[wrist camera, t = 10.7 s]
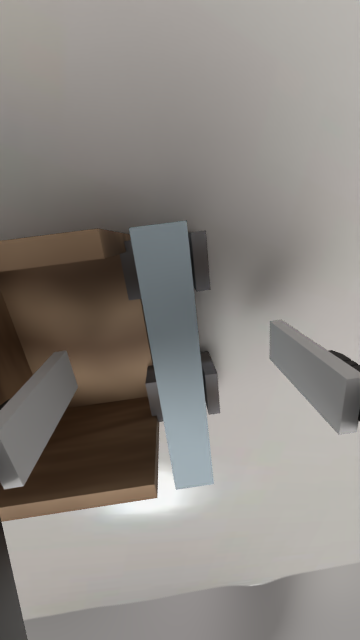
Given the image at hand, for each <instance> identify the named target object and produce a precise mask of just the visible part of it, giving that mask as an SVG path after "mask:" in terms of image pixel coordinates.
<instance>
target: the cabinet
mask: <svg viewBox="0 0 360 640" xmlns="http://www.w3.org/2000/svg"><path fill="white" fill-rule="evenodd" d="M188 238H189V248H190V258H191V267H192V277H193V287H194V288H195V290H196V291H204V290H210V278H209V265H208V253H207V240H206V231H199V232H191V233H188ZM59 351H67V354H68V357H69V360H70V363H71V366H72V369H73V373H74V376H75V379H76V382H77V385H78V388H77V390H76V392H75V394H74V396H73V397H72V399H71V401H70V403H69V405H68V406H67V408H66V410H65V412H64V414H63V416H62V417H61V419H60V421H59V423H58V425H57V426H56V428H55V430H54V432H53V434H52V436H51V437H50V439H49V441H48V443H47V445H46V446H45V448H44V450H43V452H42V454H41V456H40V457H39V459H38V461H37V463H36V465H35V466H34V468H33V470H32V472H31V474H30V475H29V477H28V479H27V481H26V483H25V485H24V486H22V487H16V488H10V489H4V488H3V486H2V484H1V483H0V518H1V522H2V521H9V520H15V519H22V518H29V517H35V516H42V515H48V514H55V513H61V512H68V511H74V510H81V509H87V508H94V507H100V506H107V505H114V504H120V503H127V502H133V501H140V500H146V499H153V498H157V490H158V451H159V422H162V421H163V415H162V409H161V404H160V398H159V393H158V387H157V382H156V376H155V371H154V365H153V359H152V354H151V348H150V343H149V337H148V332H147V326H146V320H145V315H144V309H143V304H142V298H141V293H140V287H139V281H138V276H137V270H136V265H135V259H134V254H133V248H132V243H131V237H130V234H125V233H120V232H114V231H109V230H104V229H98V228H97V229H89V230H81V231H73V232H65V233H58V234H50V235H42V236H34V237H26V238H18V239H10V240H2V241H0V405H1V404H3V403H4V402H5V401H7V400H8V399H11V398H12V397H13V396H14V395H15V394H16V393H17V392H18V391H19V390H20V388H21V387H22V386H23V385H24V384H25V383H26V382H27V381H28V380H29V379H30V378H31V377H32V376H33V374H34V373H35V372H36V371H37V370H38V369H39V368H40V367H41V366H42V365H43V364H44V363H45V362H46V361H47V359H48V358H49V357H50V356H51V355H52V354H53V353H54V352H59ZM200 355H201V364H202V374H203V384H204V394H205V402H206V405H207V409H208V413H209V415H210V414H217V413H220V404H219V392H218V379H217V372H216V370H215V367H214V365H213V362H212V360H211V357H210V355H209V352H202V353H200Z"/></svg>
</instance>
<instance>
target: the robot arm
mask: <svg viewBox="0 0 360 640" xmlns="http://www.w3.org/2000/svg"><path fill="white" fill-rule="evenodd" d="M270 360H271V361H272V362H273V363H274V364H275V365H276V366H277V367H278V368H279V370H280V371H281V372H282V373H283V374H284V375H285V376H286V377H287V378H288V379H289V380H290V382H291V383H292V384H293V385H294V386H295V387H296V388H297V389H298V390H299V391H300V393H301V394H302V395H303V396H304V397H305V398H306V399H307V400H308V401H309V402H310V404H311V405H312V406H313V407H314V408H315V409H316V410H317V411H318V412H319V413H320V415H321V416H322V417H323V418H324V419H325V420H326V421H327V422H328V423H329V424H330V425H331V427H332V428H333V429H334V430H335V431H336V432H337V433H338V434H339V435H342V434H348V433H354V432H357V427H358V421H360V365H358V364H357V363H356V362H354V361H351V359H349V358H348V357H346V356H345V355H343V354H341V353H338V352H335V351H332V350H330V351H327V350H326V349H325V348H323V347H322V346H320V345H319V344H317V343H316V342H314V341H313V340H311V339H310V338H308V337H307V336H305V335H304V334H302V333H301V332H299V331H298V330H296V329H295V328H293V327H292V326H290V325H289V324H287V323H286V322H284V321H283V320H276V321H270ZM77 388H78V385H77V382H76V379H75V376H74V373H73V369H72V366H71V363H70V360H69V357H68V354H67V351H59V352H54V353H53V354H52V355H51V356H50V357H49V358H48V359H47V361H46V362H45V363H44V364H43V365H42V366H41V367H40V368H39V369H38V370H37V371H36V372H35V373H34V374H33V376H32V377H31V378H30V379H29V380H28V381H27V382H26V383H25V384H24V385H23V386H22V387H21V388H20V390H19V391H18V392H17V393H16V394H15V395H14V396H13V397H12V398H11V399H8V400H7V401H5V402H4V403H3V404H1V405H0V483H1V484H2V486H3V488H4V489H10V488H16V487H22V486H24V485H25V483H26V481H27V479H28V477H29V475H30V474H31V472H32V470H33V468H34V466H35V465H36V463H37V461H38V459H39V457H40V456H41V454H42V452H43V450H44V448H45V446H46V445H47V443H48V441H49V439H50V437H51V436H52V434H53V432H54V430H55V428H56V426H57V425H58V423H59V421H60V419H61V417H62V416H63V414H64V412H65V410H66V408H67V406H68V405H69V403H70V401H71V399H72V397H73V396H74V394H75V392H76V390H77ZM0 640H28V639H27V635H26V630H25V626H24V621H23V617H22V612H21V608H20V604H19V599H18V595H17V590H16V586H15V581H14V577H13V572H12V568H11V563H10V559H9V554H8V550H7V545H6V541H5V536H4V532H3V527H2V523H1V518H0Z"/></svg>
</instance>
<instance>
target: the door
mask: <svg viewBox="0 0 360 640" xmlns="http://www.w3.org/2000/svg"><path fill="white" fill-rule="evenodd" d="M129 231H130V237H131V243H132V248H133V254H134V259H135V265H136V270H137V276H138V281H139V287H140V293H141V298H142V304H143V309H144V315H145V320H146V326H147V332H148V337H149V343H150V348H151V354H152V359H153V365H154V371H155V376H156V382H157V387H158V393H159V398H160V404H161V409H162V415H163V421H164V426H165V432H166V437H167V443H168V448H169V454H170V460H171V465H172V471H173V476H174V482H175V487H176V490H177V489H184V488H190V487H197V486H203V485H210V484H214V481H213V471H212V462H211V452H210V442H209V432H208V423H207V413H206V403H205V394H204V384H203V374H202V364H201V355H200V345H199V335H198V326H197V316H196V306H195V296H194V287H193V277H192V267H191V258H190V248H189V238H188V228H187V220H186V221H179V222H171V223H163V224H155V225H147V226H139V227H131V228H129Z"/></svg>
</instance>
